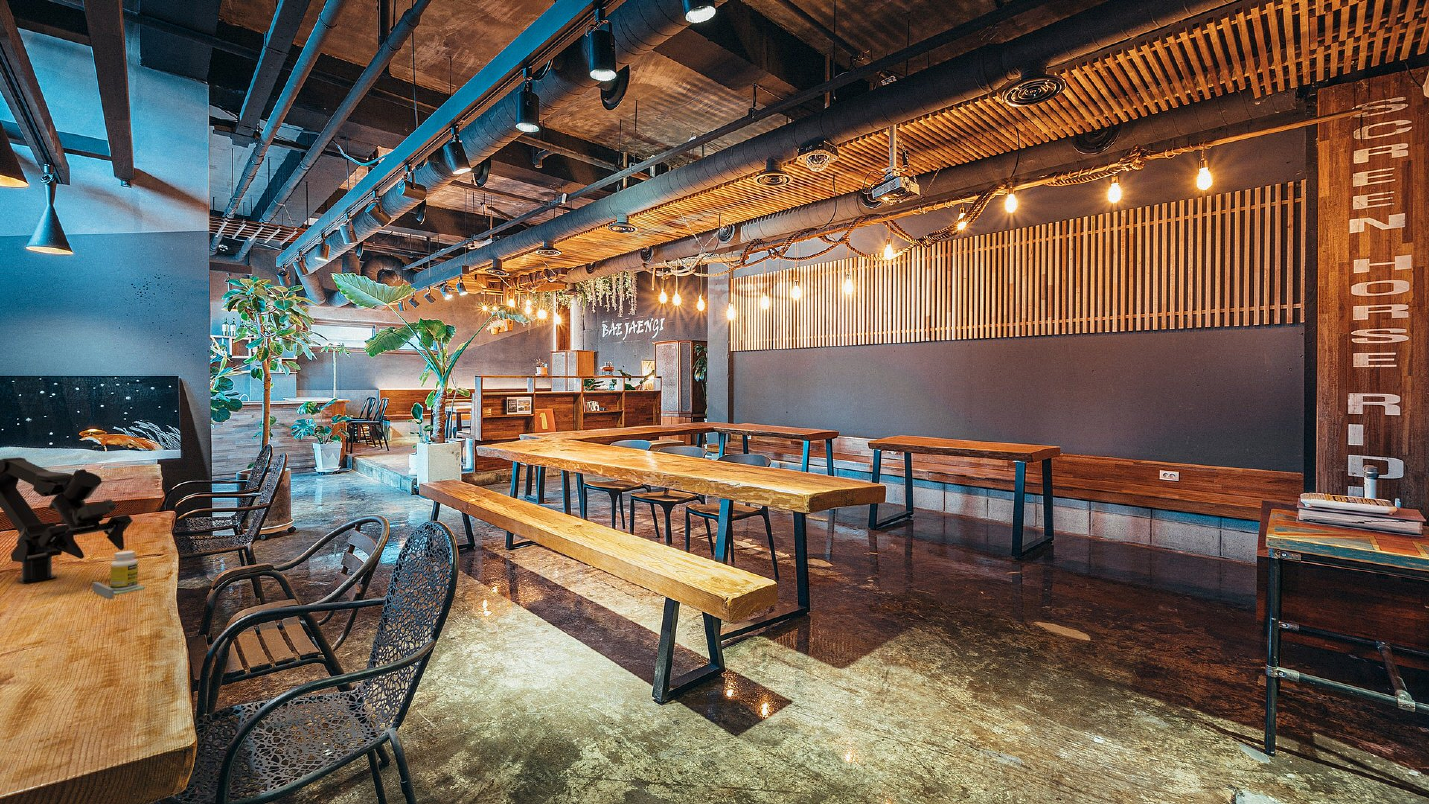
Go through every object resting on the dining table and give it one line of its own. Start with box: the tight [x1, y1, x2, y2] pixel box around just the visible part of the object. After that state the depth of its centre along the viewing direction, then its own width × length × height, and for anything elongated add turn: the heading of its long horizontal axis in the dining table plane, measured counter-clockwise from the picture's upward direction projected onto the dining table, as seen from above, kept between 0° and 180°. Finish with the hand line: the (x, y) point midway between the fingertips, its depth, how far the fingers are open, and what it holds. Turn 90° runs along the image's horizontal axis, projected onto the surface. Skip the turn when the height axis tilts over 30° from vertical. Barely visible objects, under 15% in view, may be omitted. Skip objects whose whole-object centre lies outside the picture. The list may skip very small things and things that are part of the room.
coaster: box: [114, 584, 145, 595], centre depth 169 cm, size 7×6×1 cm
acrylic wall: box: [92, 581, 115, 600], centre depth 164 cm, size 12×1×2 cm, turn 60°
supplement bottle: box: [109, 550, 139, 591], centre depth 169 cm, size 5×5×10 cm
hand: (103, 553), depth 170 cm, fingers open, 9 cm apart
